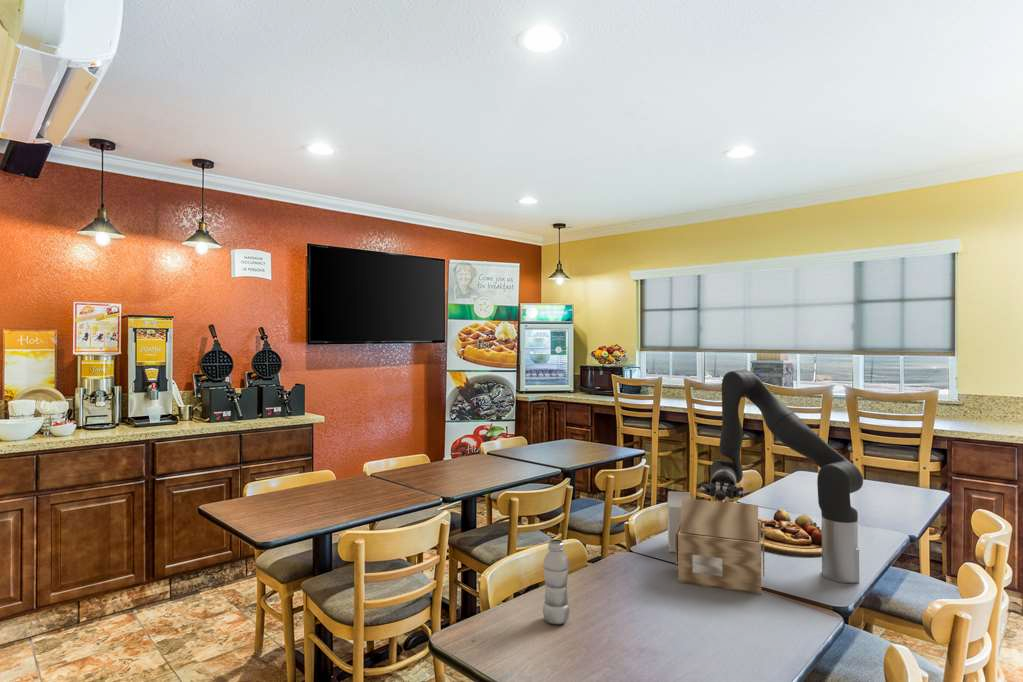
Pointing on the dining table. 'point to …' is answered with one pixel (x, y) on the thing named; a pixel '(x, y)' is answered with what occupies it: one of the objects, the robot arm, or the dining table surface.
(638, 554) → the dining table surface
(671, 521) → the milk carton
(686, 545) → the light wooden open box
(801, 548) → the wooden plate with food
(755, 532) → the front flap
